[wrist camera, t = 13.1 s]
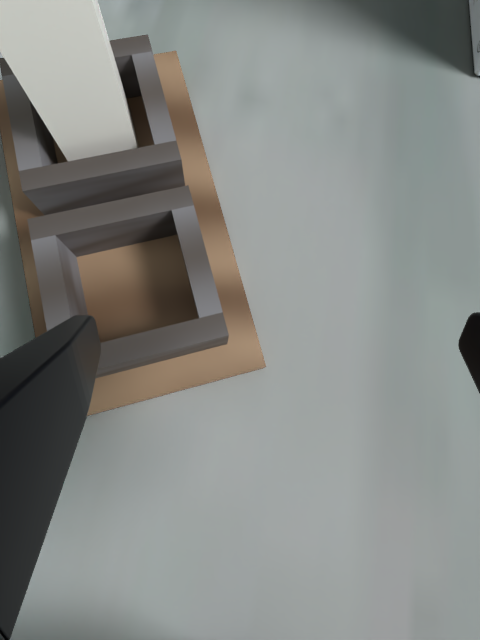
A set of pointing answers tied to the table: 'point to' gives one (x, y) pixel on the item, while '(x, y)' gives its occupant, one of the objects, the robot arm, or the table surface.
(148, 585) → the table surface
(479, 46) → the string lights box
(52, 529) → the table surface
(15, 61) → the plug
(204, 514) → the table surface
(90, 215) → the dock
